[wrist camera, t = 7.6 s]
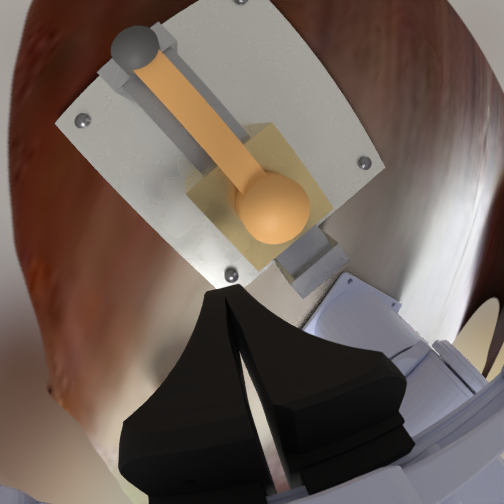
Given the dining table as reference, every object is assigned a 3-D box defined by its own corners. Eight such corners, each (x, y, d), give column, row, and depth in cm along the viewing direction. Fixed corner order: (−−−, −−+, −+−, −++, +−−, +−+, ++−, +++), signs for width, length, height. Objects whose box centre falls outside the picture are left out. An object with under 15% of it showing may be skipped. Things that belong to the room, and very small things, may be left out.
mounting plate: (380, 166, 21) (387, 168, 21) (227, 295, 23) (229, 301, 22) (243, -21, 13) (245, -26, 13) (58, 123, 15) (52, 123, 14)
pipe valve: (331, 231, 22) (363, 255, 18) (275, 278, 23) (296, 311, 19) (172, 35, 14) (171, 8, 10) (104, 92, 15) (81, 81, 11)
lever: (307, 205, 16) (322, 215, 14) (261, 243, 16) (271, 258, 14) (155, 23, 10) (151, 9, 8) (102, 66, 10) (91, 57, 9)
